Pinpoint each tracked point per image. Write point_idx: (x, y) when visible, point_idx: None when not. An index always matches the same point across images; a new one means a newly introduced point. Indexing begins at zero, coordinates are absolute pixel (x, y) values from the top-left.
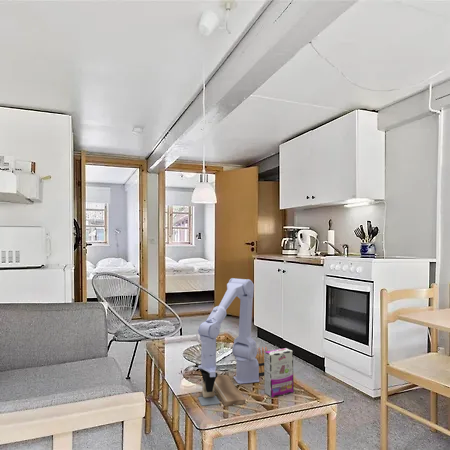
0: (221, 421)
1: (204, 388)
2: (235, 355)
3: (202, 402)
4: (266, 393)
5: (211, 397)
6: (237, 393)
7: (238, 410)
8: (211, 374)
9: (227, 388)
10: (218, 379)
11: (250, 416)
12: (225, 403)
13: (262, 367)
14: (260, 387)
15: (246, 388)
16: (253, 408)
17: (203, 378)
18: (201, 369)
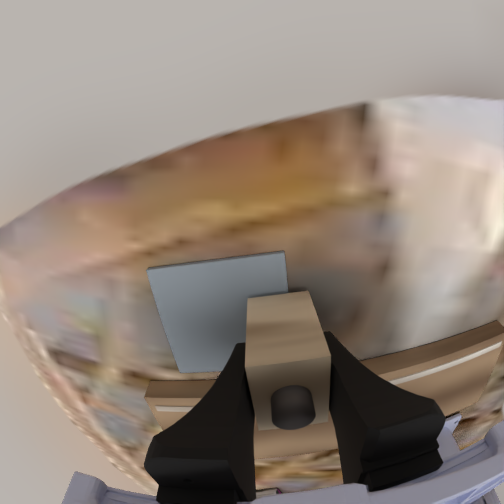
0: (24, 332)
1: (247, 342)
2: (478, 499)
3: (188, 278)
4: (266, 491)
5: None
6: None
7: (120, 412)
8: (73, 497)
9: (328, 425)
10: (456, 380)
11: (86, 424)
12: (148, 394)
13: None
14: (332, 481)
15: None
16: (147, 449)
17: (340, 382)
18: (410, 433)
